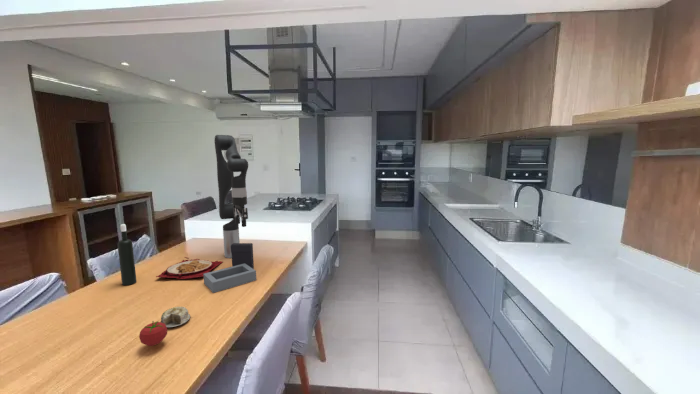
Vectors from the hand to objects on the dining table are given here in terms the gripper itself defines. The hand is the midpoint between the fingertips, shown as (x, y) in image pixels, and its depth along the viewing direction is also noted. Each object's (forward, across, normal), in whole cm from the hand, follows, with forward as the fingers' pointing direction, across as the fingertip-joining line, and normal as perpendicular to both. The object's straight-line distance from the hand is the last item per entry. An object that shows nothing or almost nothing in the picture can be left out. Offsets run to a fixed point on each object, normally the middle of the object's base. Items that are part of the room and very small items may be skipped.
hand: (240, 225), depth 158 cm
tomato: (+26, +43, -48) cm, 69 cm away
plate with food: (+32, -12, -24) cm, 42 cm away
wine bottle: (+26, -22, -49) cm, 60 cm away
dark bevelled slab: (+26, 0, 0) cm, 26 cm away
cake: (+26, +32, -40) cm, 57 cm away
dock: (+26, +11, -11) cm, 30 cm away
